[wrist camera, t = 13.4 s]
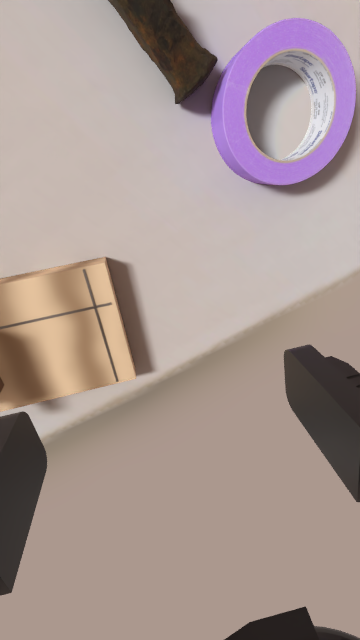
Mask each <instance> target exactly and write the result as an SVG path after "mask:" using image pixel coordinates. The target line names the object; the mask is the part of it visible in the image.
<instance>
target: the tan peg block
mask: <svg viewBox="0 0 360 640" xmlns="http://www.w3.org/2000/svg"><path fill="white" fill-rule="evenodd" d="M3 387H4V383H3V381H2V379H1V377H0V393H1V391H2V389H3Z"/></svg>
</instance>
